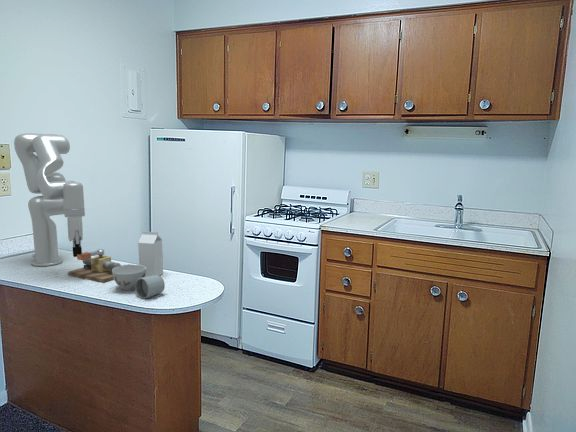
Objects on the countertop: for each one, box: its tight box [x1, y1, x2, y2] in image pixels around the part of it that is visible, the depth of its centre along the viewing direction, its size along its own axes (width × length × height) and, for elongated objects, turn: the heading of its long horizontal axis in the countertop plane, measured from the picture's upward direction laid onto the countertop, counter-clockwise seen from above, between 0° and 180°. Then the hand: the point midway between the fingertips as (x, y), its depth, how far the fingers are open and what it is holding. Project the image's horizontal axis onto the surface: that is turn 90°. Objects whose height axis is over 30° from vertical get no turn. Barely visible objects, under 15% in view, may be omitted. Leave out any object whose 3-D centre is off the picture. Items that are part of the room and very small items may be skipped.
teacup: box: [112, 264, 146, 291], centre depth 166 cm, size 15×12×8 cm
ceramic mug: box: [135, 275, 166, 300], centre depth 158 cm, size 11×8×8 cm
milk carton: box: [137, 231, 164, 277], centre depth 180 cm, size 7×7×19 cm
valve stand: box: [67, 255, 121, 284], centre depth 182 cm, size 22×16×8 cm
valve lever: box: [76, 248, 105, 261], centre depth 178 cm, size 12×3×2 cm, turn 152°
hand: (77, 256), depth 177 cm, fingers closed
